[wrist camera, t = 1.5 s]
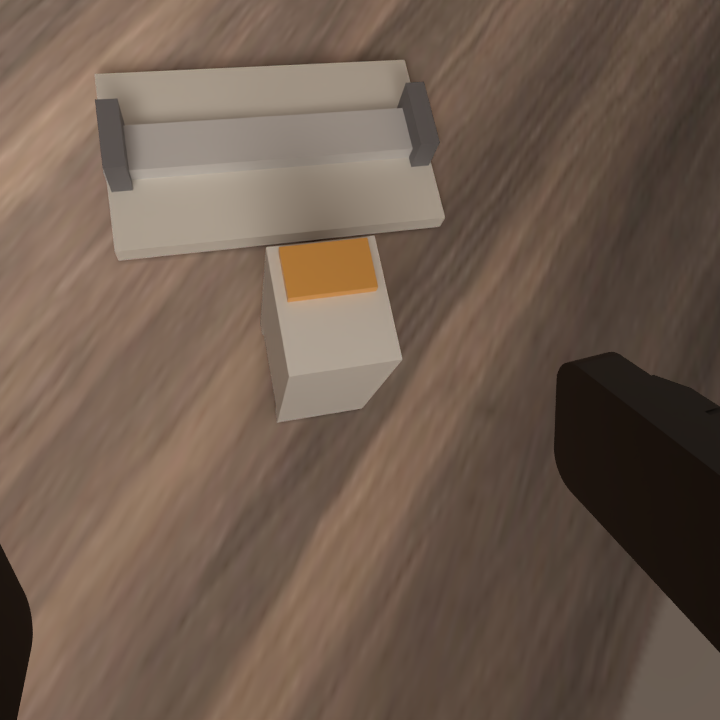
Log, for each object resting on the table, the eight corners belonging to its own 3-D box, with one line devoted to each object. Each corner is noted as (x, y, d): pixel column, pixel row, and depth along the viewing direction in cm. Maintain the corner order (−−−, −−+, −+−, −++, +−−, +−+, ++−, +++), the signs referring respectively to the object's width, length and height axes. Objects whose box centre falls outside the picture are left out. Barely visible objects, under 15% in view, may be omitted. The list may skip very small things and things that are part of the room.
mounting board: (118, 260, 38) (106, 231, 34) (98, 87, 41) (84, 43, 37) (439, 226, 42) (457, 197, 39) (400, 72, 45) (413, 31, 42)
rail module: (277, 422, 37) (289, 373, 27) (260, 323, 38) (266, 242, 28) (362, 408, 38) (404, 356, 28) (342, 312, 39) (376, 230, 29)
